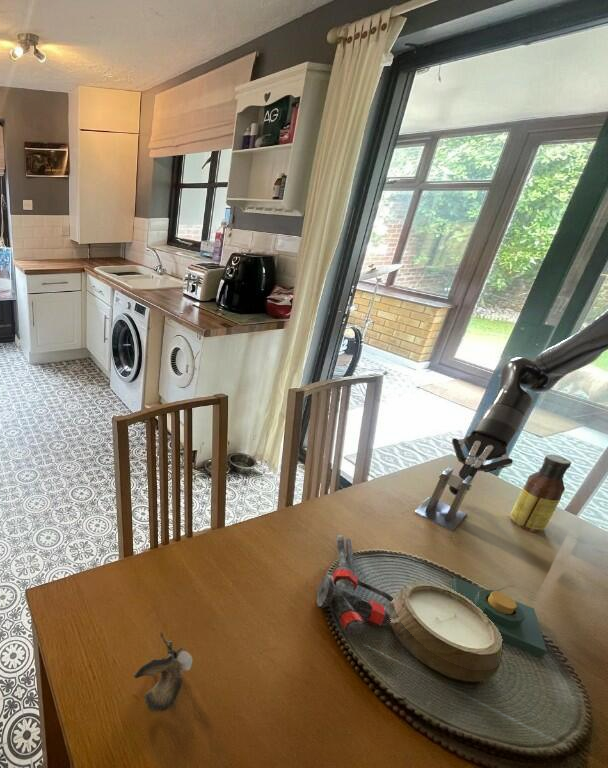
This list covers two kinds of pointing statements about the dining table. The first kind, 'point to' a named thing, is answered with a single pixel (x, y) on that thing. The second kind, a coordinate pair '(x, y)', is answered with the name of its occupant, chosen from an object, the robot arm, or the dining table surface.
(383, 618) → the valve
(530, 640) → the green button base
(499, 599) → the button
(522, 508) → the sauce bottle
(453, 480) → the lever handle
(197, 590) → the dining table surface
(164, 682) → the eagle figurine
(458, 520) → the grey metal stand
